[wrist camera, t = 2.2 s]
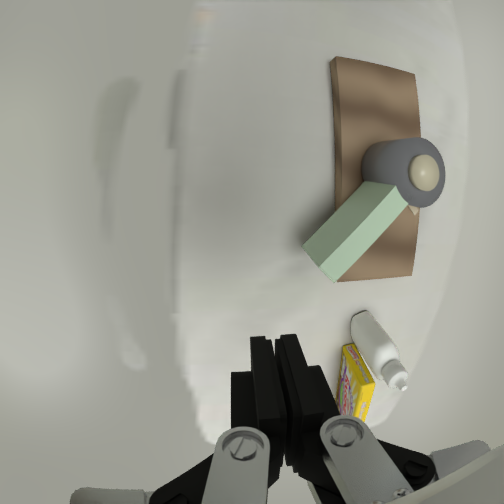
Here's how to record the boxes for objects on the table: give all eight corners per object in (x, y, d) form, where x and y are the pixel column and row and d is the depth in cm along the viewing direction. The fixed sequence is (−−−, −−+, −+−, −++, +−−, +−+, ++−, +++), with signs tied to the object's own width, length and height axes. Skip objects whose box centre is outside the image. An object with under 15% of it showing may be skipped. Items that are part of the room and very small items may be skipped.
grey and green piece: (385, 130, 24) (425, 122, 17) (417, 173, 25) (459, 177, 19) (287, 232, 27) (303, 253, 20) (326, 271, 28) (351, 301, 21)
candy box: (339, 344, 34) (361, 386, 26) (354, 342, 34) (379, 381, 26) (329, 419, 38) (342, 456, 31) (341, 416, 39) (356, 453, 31)
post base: (329, 62, 24) (336, 55, 22) (405, 78, 24) (415, 73, 22) (331, 275, 31) (337, 282, 29) (403, 269, 31) (412, 276, 29)
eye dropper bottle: (382, 310, 33) (431, 364, 21) (368, 346, 34) (407, 405, 23) (354, 308, 32) (399, 368, 21) (341, 345, 34) (375, 410, 22)
